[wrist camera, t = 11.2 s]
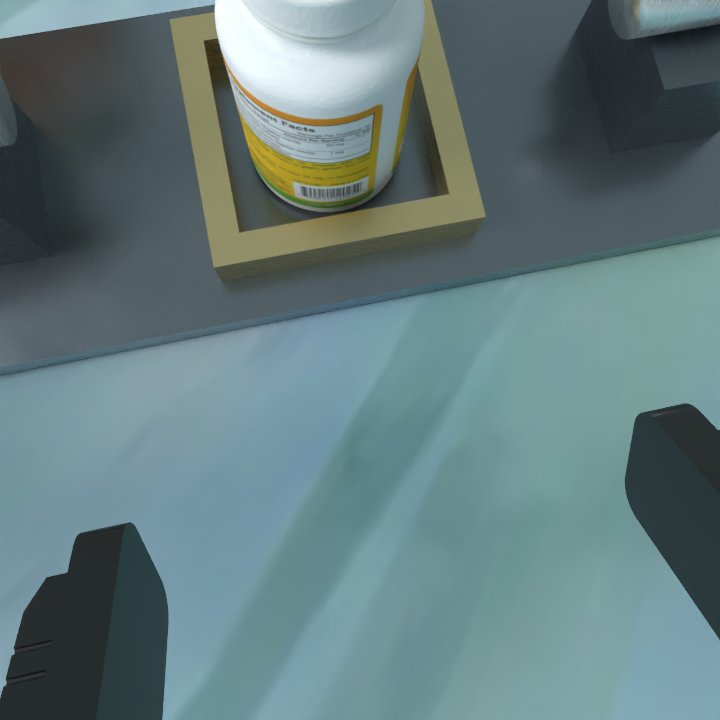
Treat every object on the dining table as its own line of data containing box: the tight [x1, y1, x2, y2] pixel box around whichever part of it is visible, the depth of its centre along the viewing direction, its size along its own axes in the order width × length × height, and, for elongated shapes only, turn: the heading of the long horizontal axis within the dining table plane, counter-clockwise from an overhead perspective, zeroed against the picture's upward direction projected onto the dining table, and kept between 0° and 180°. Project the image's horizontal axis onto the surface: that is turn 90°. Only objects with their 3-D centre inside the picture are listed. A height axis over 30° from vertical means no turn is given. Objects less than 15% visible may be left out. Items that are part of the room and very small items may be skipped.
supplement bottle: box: [215, 0, 425, 212], centre depth 19 cm, size 5×5×10 cm
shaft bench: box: [0, 0, 720, 375], centre depth 21 cm, size 30×12×7 cm, turn 102°
